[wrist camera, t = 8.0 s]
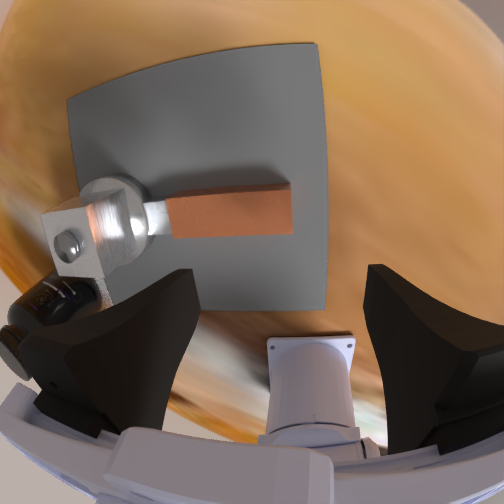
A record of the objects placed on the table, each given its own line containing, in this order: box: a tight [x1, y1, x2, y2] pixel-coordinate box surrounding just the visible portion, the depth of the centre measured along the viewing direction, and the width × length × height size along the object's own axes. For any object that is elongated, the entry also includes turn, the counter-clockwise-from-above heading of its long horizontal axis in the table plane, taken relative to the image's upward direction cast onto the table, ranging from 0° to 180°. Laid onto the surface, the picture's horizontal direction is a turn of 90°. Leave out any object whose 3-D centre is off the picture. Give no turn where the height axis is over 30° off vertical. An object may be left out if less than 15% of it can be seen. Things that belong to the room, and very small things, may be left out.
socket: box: [40, 188, 137, 278], centre depth 17 cm, size 5×5×5 cm
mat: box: [67, 44, 328, 311], centre depth 20 cm, size 20×20×1 cm
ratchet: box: [79, 173, 293, 265], centre depth 18 cm, size 7×17×4 cm, turn 95°
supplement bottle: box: [0, 268, 102, 381], centre depth 20 cm, size 7×7×12 cm
